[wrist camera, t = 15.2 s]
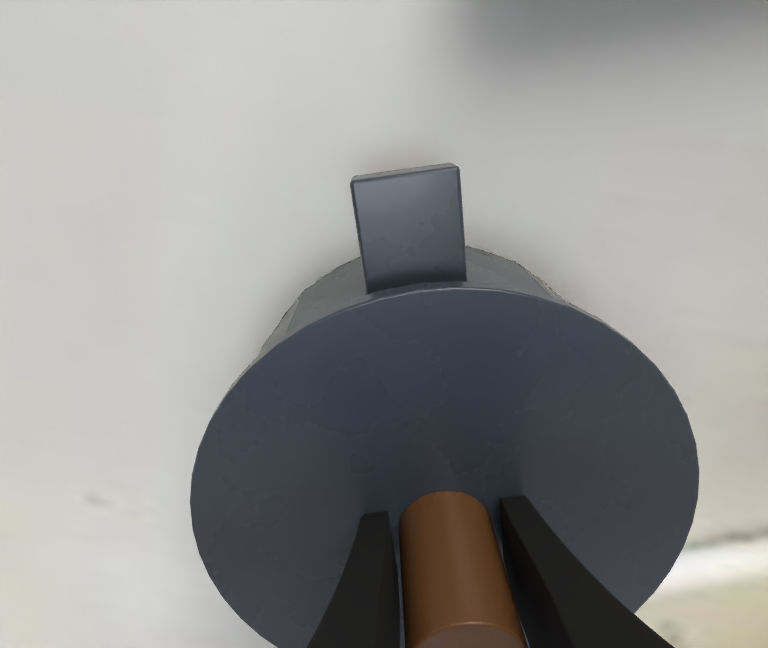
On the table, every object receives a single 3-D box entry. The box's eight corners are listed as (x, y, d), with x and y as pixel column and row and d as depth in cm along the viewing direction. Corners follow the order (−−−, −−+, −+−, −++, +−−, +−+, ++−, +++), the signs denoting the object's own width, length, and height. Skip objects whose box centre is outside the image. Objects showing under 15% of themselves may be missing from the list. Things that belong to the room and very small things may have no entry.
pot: (597, 129, 15) (711, 134, 10) (585, 563, 22) (650, 699, 17) (199, 184, 15) (113, 216, 10) (306, 593, 22) (286, 735, 17)
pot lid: (700, 237, 11) (902, 311, 7) (657, 632, 16) (760, 820, 12) (139, 310, 12) (1, 422, 7) (261, 673, 17) (222, 869, 12)
